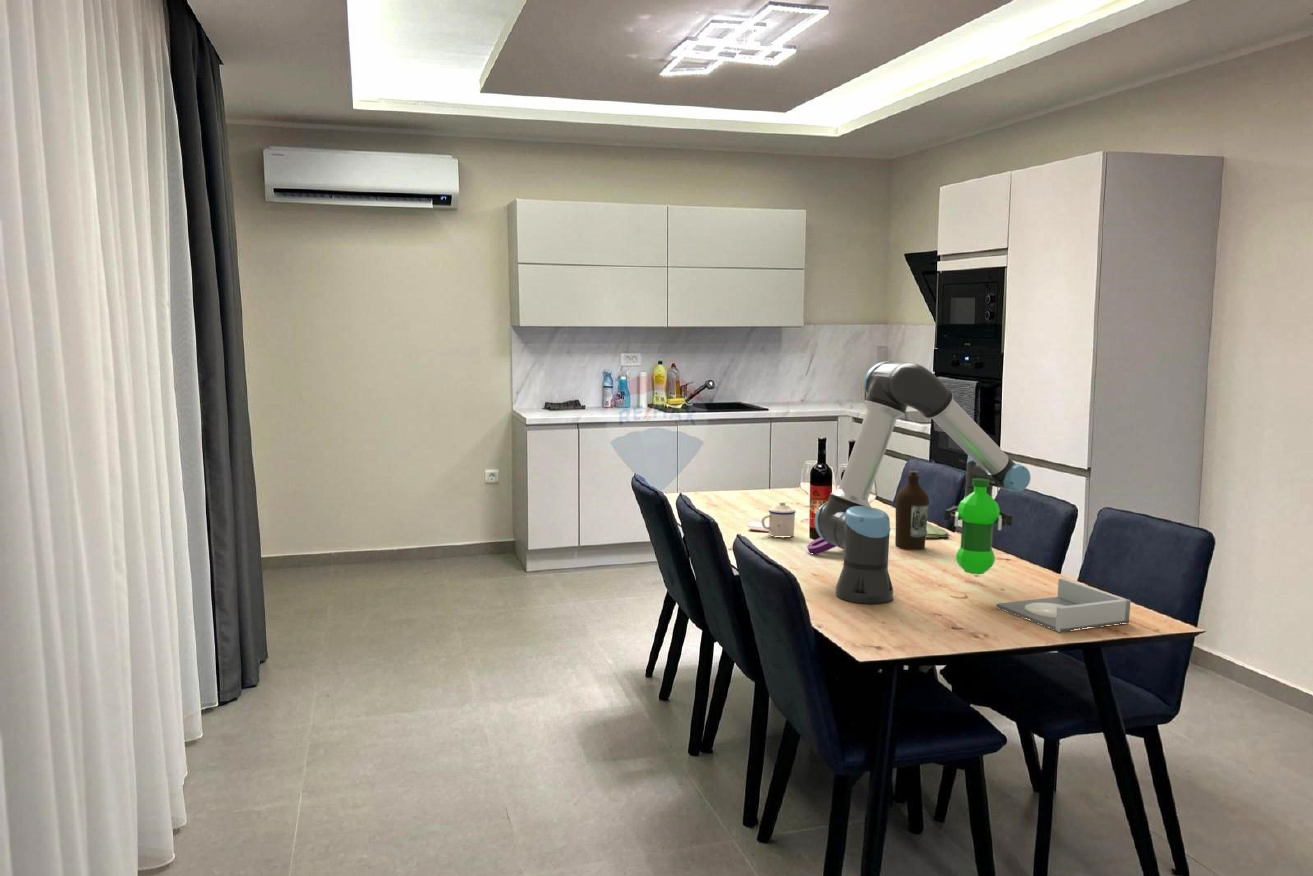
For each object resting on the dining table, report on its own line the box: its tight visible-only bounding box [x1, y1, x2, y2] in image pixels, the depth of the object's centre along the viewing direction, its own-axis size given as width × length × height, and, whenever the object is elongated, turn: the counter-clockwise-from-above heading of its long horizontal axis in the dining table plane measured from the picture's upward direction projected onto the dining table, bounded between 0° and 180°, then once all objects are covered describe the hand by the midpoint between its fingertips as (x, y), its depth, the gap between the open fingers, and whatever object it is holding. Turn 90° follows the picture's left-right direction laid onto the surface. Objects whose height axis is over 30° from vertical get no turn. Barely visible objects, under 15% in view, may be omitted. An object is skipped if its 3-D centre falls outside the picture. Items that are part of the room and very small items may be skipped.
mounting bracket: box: [806, 536, 837, 555], centre depth 310 cm, size 9×8×18 cm
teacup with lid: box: [760, 501, 796, 537], centre depth 333 cm, size 12×9×12 cm
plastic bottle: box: [955, 478, 1001, 575], centre depth 259 cm, size 10×10×25 cm
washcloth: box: [926, 522, 950, 539], centre depth 341 cm, size 13×18×3 cm
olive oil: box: [894, 470, 930, 550], centre depth 319 cm, size 11×11×25 cm
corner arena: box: [995, 577, 1132, 633], centre depth 247 cm, size 22×22×6 cm
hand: (978, 523), depth 255 cm, fingers closed on plastic bottle, 10 cm apart
